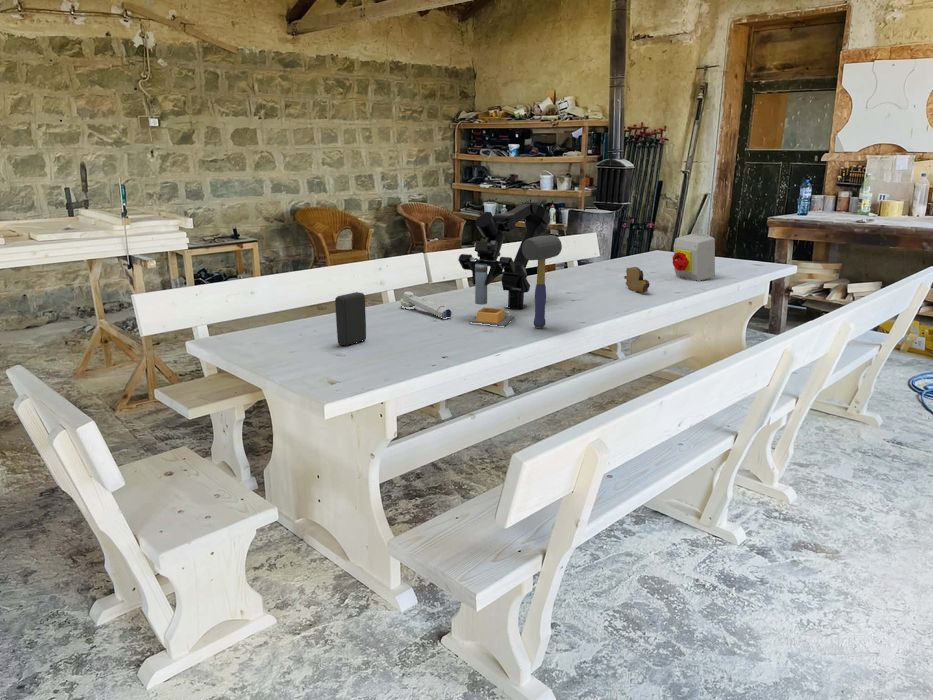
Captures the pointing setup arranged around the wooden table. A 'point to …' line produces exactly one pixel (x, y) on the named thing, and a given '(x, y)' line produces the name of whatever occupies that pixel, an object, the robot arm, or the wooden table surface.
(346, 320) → the black upright block
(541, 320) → the rubber mallet
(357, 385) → the wooden table surface
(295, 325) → the wooden table surface
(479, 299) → the plug
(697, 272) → the electrical switch box
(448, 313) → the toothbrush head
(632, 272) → the wooden carving
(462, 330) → the wooden table surface
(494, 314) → the panel
